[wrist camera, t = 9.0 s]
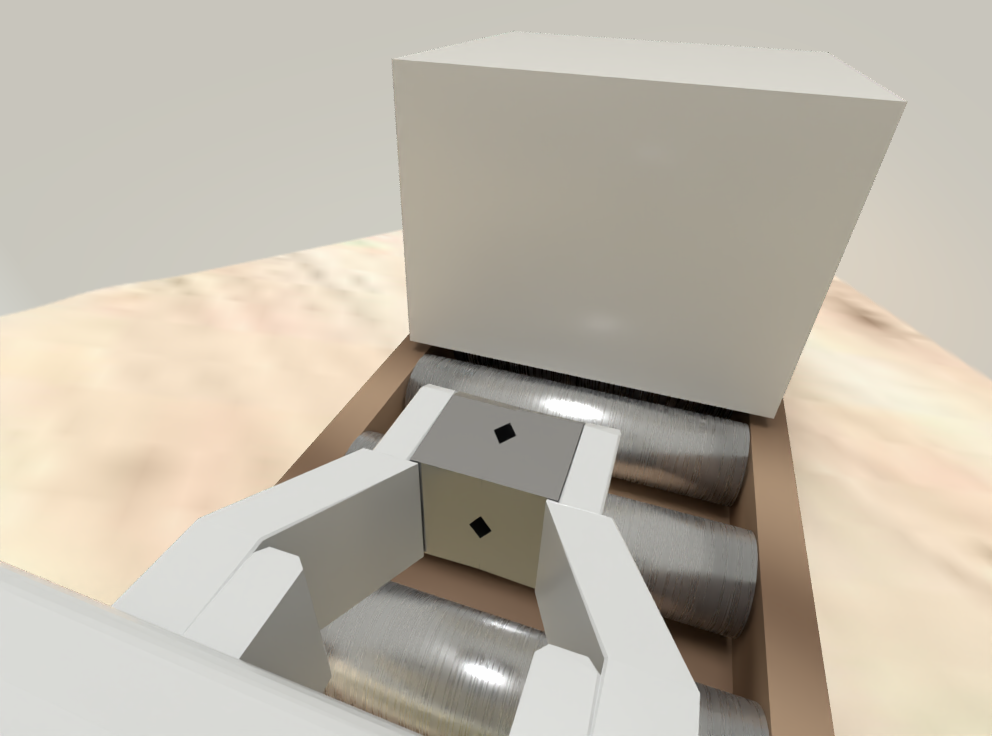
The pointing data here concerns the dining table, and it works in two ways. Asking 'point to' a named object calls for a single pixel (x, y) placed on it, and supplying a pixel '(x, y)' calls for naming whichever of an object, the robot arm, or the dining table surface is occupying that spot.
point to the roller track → (704, 656)
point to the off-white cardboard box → (632, 205)
